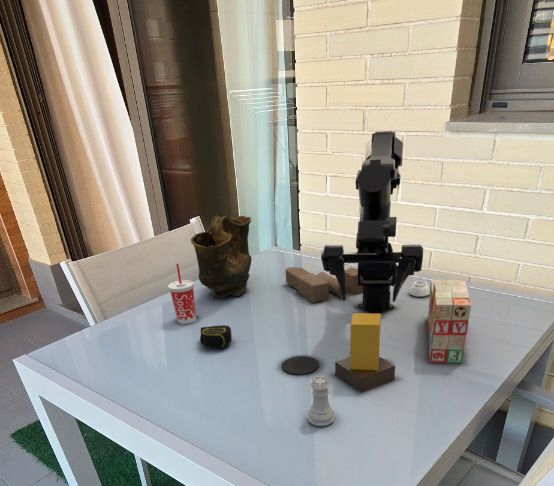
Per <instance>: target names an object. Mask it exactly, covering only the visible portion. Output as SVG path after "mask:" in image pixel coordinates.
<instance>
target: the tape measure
mask: <svg viewBox="0 0 554 486" xmlns="http://www.w3.org/2000/svg"><path fill="white" fill-rule="evenodd" d="M199 340H200V341H199V342H200V343H201V344H202V346H203V347H205V348H207V349H221V348H225V347H228V346H229V345H230V344H231V343H232V341H233V340H232V328H231V327H230V326H229V325H225V324H224V325H223V324H222V325H221V324H220V325H212V326H202V327H200V338H199Z"/></svg>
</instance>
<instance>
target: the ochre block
mask: <svg viewBox="0 0 554 486" xmlns="http://www.w3.org/2000/svg"><path fill="white" fill-rule="evenodd" d="M381 318H382V313H377V314H371V313H369V312H367V313H366V312H362V313H361V312H360V313H359V312H353V313H352V317H351V322H350V346H349V347H350V348H349V349H350V351H349V357H350V369H356V370H378V362H379V357H380V346H381V345H380V344H381V322H382V319H381Z"/></svg>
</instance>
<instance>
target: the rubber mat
mask: <svg viewBox="0 0 554 486" xmlns="http://www.w3.org/2000/svg"><path fill="white" fill-rule="evenodd" d="M319 367H320V361H319V360H318V359H316V358H314V357H311V356H307V355H297V356H291V357H289V358H287V359H285V360H284V361H283V362H282V363H281V370H282V371H283V372H284V373H286V374H289V375H291V376H292V375H293V376H306V375H309V374H313V373H314V372H316V371H317V370H318V369H319Z"/></svg>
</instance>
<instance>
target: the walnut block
mask: <svg viewBox="0 0 554 486" xmlns="http://www.w3.org/2000/svg"><path fill="white" fill-rule="evenodd" d="M334 376H335V377H337V378H338V379H340V380H341V381H343V382H344V383H346V384H347V385H349V386H350V387H351V388H353V389H355V391H358V392H359V393H363V392H366V391H368V390H371V389H373V388H376V387H379V386H382V385H384V384H386V383H388V382H389V383H390V382H392V381H394V380H395V379H396V365H395V364H394V363H391V362H390V361H388V360H386V359H385V358H383V357H381V356H379V362H378V370H356V369H350V356H348V357H345V358H342V359H339V360H336V361H334Z"/></svg>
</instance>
